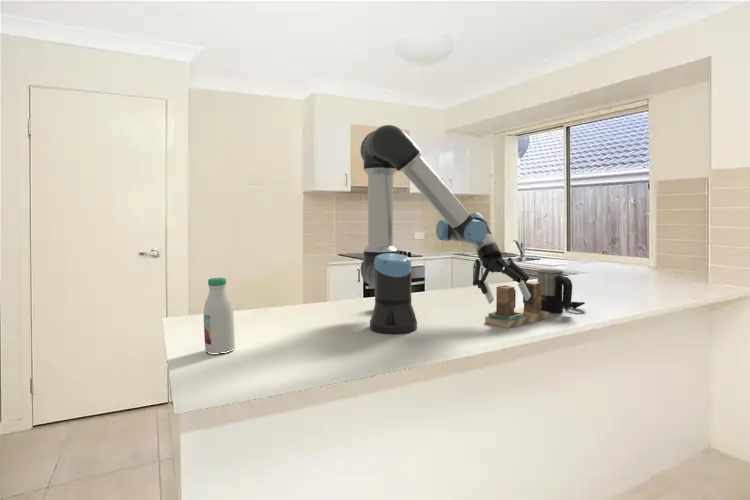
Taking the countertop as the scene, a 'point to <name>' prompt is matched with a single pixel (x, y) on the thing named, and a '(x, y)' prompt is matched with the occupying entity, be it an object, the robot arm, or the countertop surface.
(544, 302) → the milk frother
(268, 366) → the countertop surface
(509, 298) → the brown wooden block
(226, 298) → the milk bottle
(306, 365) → the countertop surface
